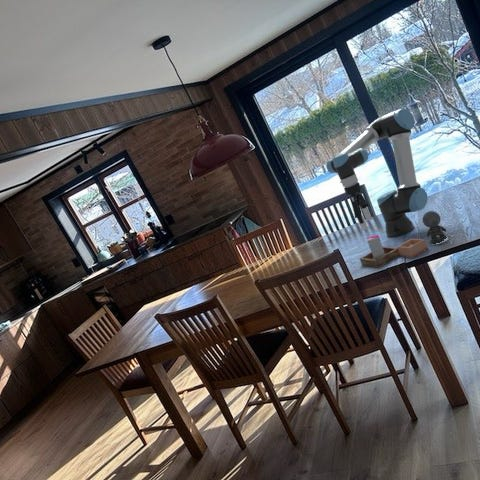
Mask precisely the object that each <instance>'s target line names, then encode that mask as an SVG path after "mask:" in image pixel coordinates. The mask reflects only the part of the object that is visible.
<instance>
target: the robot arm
mask: <svg viewBox="0 0 480 480" xmlns="http://www.w3.org/2000/svg"><path fill="white" fill-rule="evenodd" d="M415 122H416V121H415V118H414V115H413V113H411V112H410V110H409V109H406V108H400V109H399V108H398V109H395V110H394V111H391V112H389V113H386V114H384V115H381V116H378V118H376V119H375V120H373V121H372V122H371V123H369V125H367V127H365V128H364V129H363V131H362V133H361V134H360V135H359V136H358V137H357V138H356V139H354V140H353V141H352V142H351V143H350V144H349V145H347V147H346V148H344V149H343V150H342V151H341V152H340V153H338V154H337V155H336V156H333V158H331V159H328V160H327V161H326V164H325V167H326V169H327V171H328V172H329V174H337V175H338V177H339V180H340V184H341V185H342V187H343V190H344V193H345V195H346V196H349V195H350V196H351V197H349V200H350V204H351V206H352V207H351V208H352V210H353V214H354V218H355V219H357V221H358V224H359V226H360V228H361V230H362V231H363V230H367V229H368V228H369V227H368V225H367V222H368V221H371V220H372V219H373V217H372V215H371V212H370V210H369V204H368V202H367V201H366V198H365V197H364V195H363V194H362V192H361V190H362V186H361V184H360V182H359V179H358V177H357V174H356V173H355V169H357V168H358V167H360V166H362V165H364V164H365V163H366V162H367V161H368V159H369V154H368V151H367V149H368V148H369V147H370V146H371V145H374V144H376V143H377V142H378V141H380V140H382V139H385V138H388V140H390V141H391V143H392V148H393V154H394V155H393V156H394V161H395V165H396V167H395V168H396V172H397V179H398V184H399V185H398V187H397V189H393V190H389V191H388V192H385V193H384V194H382V195H380V196H378V198H377V199H376V202H377V206H378V208H379V210H380V213H381V215H382V217H383V221H384V224H385V234H386V236H387V237H388V238H394V237H399V236H402V235H405V234H407V233H408V232H411V231H412V230H414V227H415V226H414V224H413V222H412V220H411V219H410V218H409V217H408V216H407V213H408V214H409V213H415V212H419V211H422V210H424V208H425V207H426V206H427V203H428V193H427V191H426V190H425V189H424V188H423V187H421V183H418V181H417V176H416V171H415V165H414V159H413V153H412V147H411V143H410V142H411V141H410V136H412V129H413V128H414V127H415V124H416V123H415ZM361 208H362V209H361ZM362 212H363V215H364V216H363V215H362ZM365 220H366V221H365Z"/></svg>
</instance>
